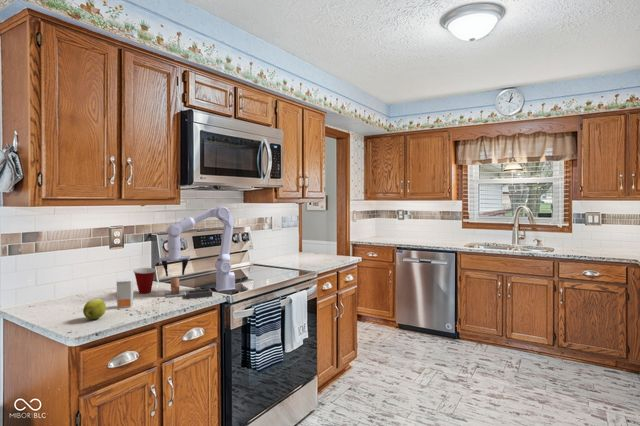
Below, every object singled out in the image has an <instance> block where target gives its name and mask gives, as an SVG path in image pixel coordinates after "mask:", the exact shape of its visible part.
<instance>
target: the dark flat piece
mask: <svg viewBox="0 0 640 426" xmlns="http://www.w3.org/2000/svg"><path fill="white" fill-rule="evenodd" d="M185 294H186V296H185V297H186V298H187V299H188V300H192V299H201V298H211V297H213V290H212V289H211V288H201V287H199V286H198V287H195V288H194V289H193V290H191V289H190V290H186V291H185Z"/></svg>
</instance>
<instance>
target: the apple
mask: <svg viewBox="0 0 640 426" xmlns="http://www.w3.org/2000/svg"><path fill="white" fill-rule="evenodd" d="M106 311H107V304H106V302H105V301H104V300H103V299H102V298H101V299H100V298H93V299H90V300H89V301H87V302H86V303H85V305H84V306H83V309H82V313H83V316H84V317H85V318H86V319H89V320H97V319H99V318H101V317H102V316H103V315H104V314H105V312H106Z"/></svg>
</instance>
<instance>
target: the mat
mask: <svg viewBox="0 0 640 426" xmlns="http://www.w3.org/2000/svg"><path fill="white" fill-rule="evenodd" d="M179 291H180V290H179ZM164 294H165V297H166V299H167V298H168V299H169V298H177V297H178V298H180V297H187V296H186V292H185V291H184V290H181V291H180V294H177V295H172V294H171V291H168V292H164Z"/></svg>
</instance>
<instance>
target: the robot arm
mask: <svg viewBox="0 0 640 426" xmlns="http://www.w3.org/2000/svg"><path fill="white" fill-rule="evenodd" d="M208 218H215V219H216V218H217V219H218V220H219V221H220V222H221V224H223V229H222V236H221V241H220V243H221V244H220V248H219V254H218V256H217V259H216V261H215V263H214V266H215V269H216V272H215V275H216V276H215V277H216V280H215V281H216V282H215V283H216V286H214V289H215V290H216V291H217V292H222V291H223V292H224V291H231V290H236V277H235V272H234V271H231V269H232V263H231V256H230V255H231V247H232V241H233V232H234V225H235V221H234V218H233V216H232V213H231V210H230V209H229V208H227V207H226V206H220V205H218V206H214V207H212V208H209V209H207V210H205V211H203V212H201V213H199V214H197V215H195V216H194V217H190V216H188V217H187V216H185V217H183V219H181V220H179V221H175V222H174V223H173V224H170V225H169V226H168V227H167V229H166V232H167V234H168V237H167V238H168V240H167V241H168V243H167V245H168V246H167V247H168V248H167V249H168V250H167V251H168V252H167V253H168V256H165V257H164V256H163V257H159V258H158V262H159V263H161V265H162V266H163V269H164V272H165V276H166V277H168V276H169V274H168V262H176V261H177V262H179V261H181V268H182V269H181V274H182V276H184V275H185V271H186V268H187V265H188V262H189V261H190V260H191V256H190V255H182V253H181V234H182V233H185V232H186V231H188V230H189V231H190V229H193V228H194V227H195V225H196V224H198V223H200V222H202V221H204V220H207V219H208Z"/></svg>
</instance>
